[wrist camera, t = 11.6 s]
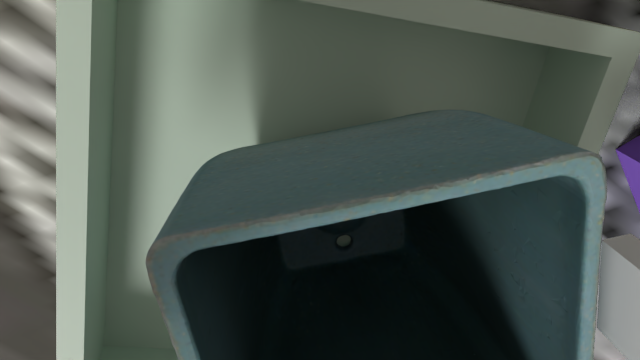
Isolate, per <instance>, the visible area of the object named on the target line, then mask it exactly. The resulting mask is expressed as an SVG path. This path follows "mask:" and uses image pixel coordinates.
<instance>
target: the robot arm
mask: <svg viewBox="0 0 640 360" xmlns="http://www.w3.org/2000/svg"><path fill="white" fill-rule="evenodd" d="M597 328H598V329H599V330H600V331H601V332H602V333H603V334H604V335H605V336H606V337H607V338H608V340H609V341H610V342H611V343H612V344H613V345H614V346H615V347H616V348H617V349H618V350H619V351H620V352H621V353H622V354H623V355H624V356H625V357H626V358H627V359H628V360H640V240H639V239H638V238H636V237H635V236H634V235H632V234H626V235H622V236H618V237H613V238H609V239H604V240H602V246H601V264H600V282H599V300H598V318H597ZM71 360H72V359H71Z"/></svg>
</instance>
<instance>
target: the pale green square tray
mask: <svg viewBox="0 0 640 360" xmlns="http://www.w3.org/2000/svg"><path fill="white" fill-rule="evenodd" d="M639 53H640V32H637V31H632V30H628V29H623V28H619V27H615V26H610V25H606V24H601V23H597V22H593V21H588V20H584V19H579V18H575V17H570V16H566V15H561V14H556V13H550V12H545V11H540V10H535V9H530V8H525V7H520V6H515V5H510V4H505V3H500V2H495V1H490V0H56V360H71V359H72V360H178V358H177V354H176V352H175V349H174V347H173V345H172V341H171V339H170V335H169V332H168V329H167V327H166V324H165V322H164V320H163V318H162V314H161V311H160V307H159V305H158V302H157V299H156V297H155V295H154V293H153V291H152V287H151V284H150V281H149V277H148V272H147V268H146V264H145V262H146V256H147V253H148V250H149V249H150V247H151V245H152V244H153V242H154V240H155V239H156V237H157V235H158V234H159V232H160V230H161V228H162V227H163V225H164V223H165V221H166V220H167V218H168V216H169V215H170V213H171V211H172V209H173V208H174V206H175V205H176V203H177V201H178V200H179V198H180V196H181V194H182V193H183V192H184V190H185V188H186V187H187V185H188V184H189V182H190V180H191V179H192V177H193V176H194V175H195V173H196V172H197V171H198V170H199V168H200V167H201V166H202V165H203V164H205V163H206V162H207V161H208V160H210V159H211V158H213V157H215V156H217V155H219V154H221V153H224V152H226V151H230V150H233V149H237V148H241V147H246V146H252V145H257V144H263V143H269V142H274V141H279V140H285V139H290V138H295V137H300V136H306V135H311V134H316V133H321V132H326V131H331V130H336V129H341V128H346V127H351V126H357V125H362V124H367V123H372V122H377V121H382V120H387V119H392V118H396V117H401V116H405V115H410V114H415V113H421V112H427V111H434V110H466V111H473V112H478V113H482V114H486V115H489V116H492V117H495V118H498V119H501V120H504V121H507V122H510V123H513V124H516V125H519V126H522V127H525V128H527V129H530V130H533V131H535V132H538V133H541V134H544V135H547V136H549V137H552V138H555V139H558V140H561V141H563V142H566V143H569V144H572V145H574V146H577V147H580V148H583V149H585V150H588V151H591V152H594V153H596V154H599V152H600V149H601V147H602V144H603V142H604V139H605V137H606V134H607V132H608V129H609V127H610V124H611V122H612V119H613V117H614V115H615V112H616V110H617V107H618V105H619V102H620V100H621V97H622V95H623V92H624V90H625V87H626V85H627V83H628V80H629V78H630V75H631V73H632V70H633V68H634V65H635V63H636V60H637V58H638V55H639ZM350 241H351V238H350V237H349V236H348V235H343V236H340V237H339V238H338V239H337V244H338V245H340V246H346V245H348V244H349V243H350Z"/></svg>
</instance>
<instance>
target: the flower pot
mask: <svg viewBox="0 0 640 360" xmlns="http://www.w3.org/2000/svg"><path fill="white" fill-rule="evenodd" d="M606 198H607V180H606V170H605V165H604V164H603V162H602V157H601V156H600V155H599V154H596V153H594V152H591V151H588V150H585V149H583V148H580V147H577V146H574V145H572V144H569V143H566V142H563V141H561V140H558V139H555V138H552V137H549V136H547V135H544V134H541V133H538V132H535V131H533V130H530V129H527V128H525V127H522V126H519V125H516V124H513V123H510V122H507V121H504V120H501V119H498V118H495V117H492V116H489V115H486V114H482V113H478V112H473V111H466V110H434V111H427V112H421V113H415V114H410V115H405V116H401V117H396V118H392V119H387V120H382V121H377V122H372V123H367V124H362V125H357V126H351V127H346V128H341V129H336V130H331V131H326V132H321V133H316V134H311V135H306V136H300V137H295V138H290V139H285V140H279V141H274V142H269V143H263V144H257V145H252V146H246V147H241V148H237V149H233V150H230V151H226V152H224V153H221V154H219V155H217V156H215V157H213V158H211V159H210V160H208V161H207V162H206V163H205V164H203V165H202V166H201V167H200V168H199V170H198V171H197V172H196V173H195V175H194V176H193V177H192V179H191V180H190V182H189V184H188V185H187V187H186V188H185V190H184V192H183V193H182V194H181V196H180V198H179V200H178V201H177V203H176V205H175V206H174V208H173V209H172V211H171V213H170V215H169V216H168V218H167V220H166V221H165V223H164V225H163V227H162V228H161V230H160V232H159V234H158V235H157V237H156V239H155V240H154V242H153V244H152V245H151V247H150V249H149V250H148V253H147V256H146V262H145V264H146V268H147V272H148V277H149V281H150V284H151V287H152V291H153V293H154V295H155V297H156V299H157V302H158V305H159V307H160V311H161V314H162V318H163V320H164V322H165V324H166V327H167V329H168V332H169V335H170V339H171V341H172V345H173V347H174V349H175V352H176V354H177V358H178V360H593V350H594V342H595V328H596V312H597V306H596V305H597V295H598V283H599V281H598V279H599V265H600V252H601V243H602V229H603V220H604V209H605V203H606ZM343 235H348V236H349V237H350V238H351V241H350V243H349V244H348V245H346V246H340V245H338V244H337V239H338V238H339V237H340V236H343Z"/></svg>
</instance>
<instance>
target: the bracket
mask: <svg viewBox="0 0 640 360" xmlns="http://www.w3.org/2000/svg"><path fill="white" fill-rule="evenodd" d="M616 152H617V154H618V157H619V160H620V162H621V165H622V167H623V170H624V173H625V175H626V178H627V181H628V183H629V186H630V188H631V191H632V194H633V196H634V199H635V201H636V204H637V207H638V209H639V212H640V135H639V136H637V137H636V138H634V139H632V140H631V141H629V142H627V143H626V144H624V145H622V146H621V147H619V148H617V149H616Z"/></svg>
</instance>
